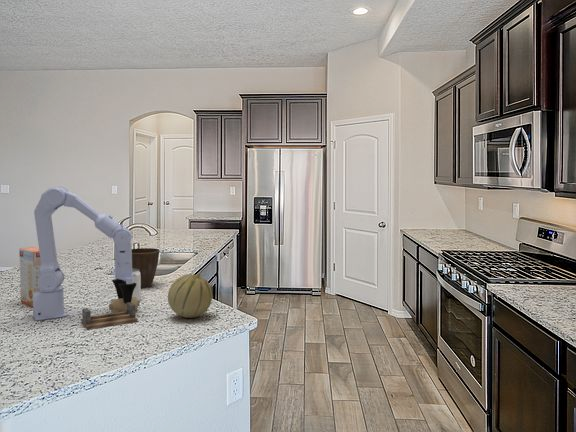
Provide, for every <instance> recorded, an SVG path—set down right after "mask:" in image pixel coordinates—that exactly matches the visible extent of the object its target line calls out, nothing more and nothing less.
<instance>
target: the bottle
mask: <svg viewBox="0 0 576 432" xmlns="http://www.w3.org/2000/svg"><path fill="white" fill-rule="evenodd" d="M131 303H133V304H134V305H135V312H136V311H138V308H139V307H140V301H139V300H137V298H136V297H132V300H131ZM108 309H109V310H108V311H111V313H118V312H125V311H126V312H127V305H126V304H125V303H124V301H123V298H120V299H118V298H114V299H113V298H112V299H111V300H110V303H108Z"/></svg>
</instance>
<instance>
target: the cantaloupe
mask: <svg viewBox="0 0 576 432" xmlns="http://www.w3.org/2000/svg"><path fill="white" fill-rule="evenodd" d="M212 291H213V290H212V288H211V285H210V283H209V282H208V280H207V279H206V278H204V277H202V276H201V273H197V274H192V273H191V274H190V273H187V274H183V275H181V276H179V277H178V278H176V279H175V280H174V281H173V282H172V284H171V285H170V286H169V288H168V292H167V302H168V305H169V307H170V309H171V310H172V311H173V312H174V313H175V314H176V315H178V316H180V317H183V318H185V319H193V318H194V319H195V318H198V317H200V316H202V315H204V313H206V312H207V311H208V310H209V308H210V306H211V303H212V301H213V292H212Z"/></svg>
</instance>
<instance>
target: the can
mask: <svg viewBox="0 0 576 432" xmlns="http://www.w3.org/2000/svg"><path fill="white" fill-rule="evenodd" d="M132 274H136V276H133V283H136V287H135V289H134V291H133V295H132V297H136V298H137V300H139V302H140V301H141V299H142V288H141V275H140V272H139V269H132Z"/></svg>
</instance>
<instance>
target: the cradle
mask: <svg viewBox="0 0 576 432" xmlns="http://www.w3.org/2000/svg"><path fill="white" fill-rule="evenodd" d="M126 305H127V312H126V311H125V312H118V313H112V312H110V313H107V314H106V313H105V314H97V315H92V314H91V310H90V309H89V307H83V308H82V309H81V312H82V318H80V322H81V324H82V325H83V326H84V328H85V329H87V330H93V329H101V328H106V327H113V326H119V325H120V326H121V325H127V324H133V323H138V322H139V319H138V317H137V316H136V311H135V305H134V304H133V303H131V302H128V303H126Z"/></svg>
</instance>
